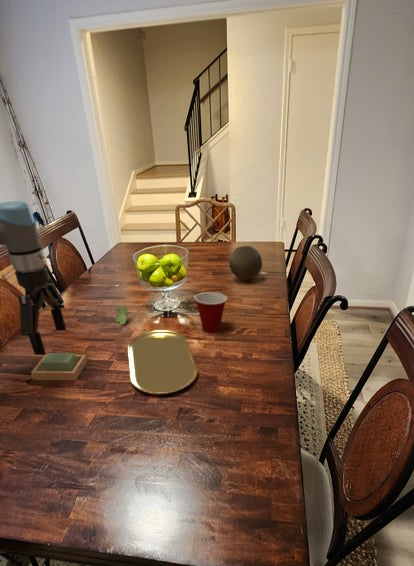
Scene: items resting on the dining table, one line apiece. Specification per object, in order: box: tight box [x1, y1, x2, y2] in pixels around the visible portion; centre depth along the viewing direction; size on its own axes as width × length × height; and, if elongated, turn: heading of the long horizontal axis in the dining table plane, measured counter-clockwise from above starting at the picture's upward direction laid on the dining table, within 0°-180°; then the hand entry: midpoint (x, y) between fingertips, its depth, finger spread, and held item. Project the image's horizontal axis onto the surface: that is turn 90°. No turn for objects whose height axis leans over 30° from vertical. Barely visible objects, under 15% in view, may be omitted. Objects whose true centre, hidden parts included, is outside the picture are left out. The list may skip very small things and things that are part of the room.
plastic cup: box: [194, 291, 228, 334], centre depth 124 cm, size 11×11×12 cm
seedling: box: [115, 304, 129, 326], centre depth 136 cm, size 7×8×6 cm
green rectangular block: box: [41, 352, 77, 371], centre depth 108 cm, size 8×5×4 cm, turn 86°
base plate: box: [30, 354, 88, 381], centre depth 109 cm, size 13×10×3 cm
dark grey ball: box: [228, 245, 263, 281], centre depth 162 cm, size 14×14×15 cm
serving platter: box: [127, 329, 199, 396], centre depth 111 cm, size 19×35×2 cm, turn 13°
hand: (51, 341), depth 104 cm, fingers open, 13 cm apart
